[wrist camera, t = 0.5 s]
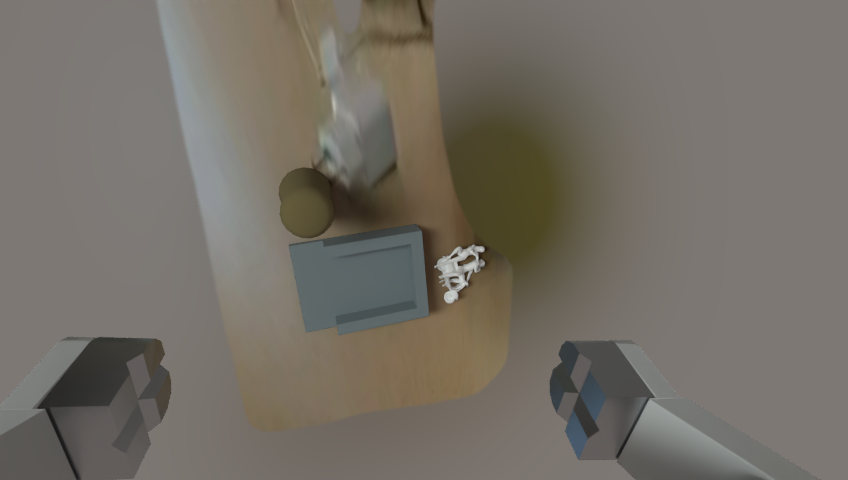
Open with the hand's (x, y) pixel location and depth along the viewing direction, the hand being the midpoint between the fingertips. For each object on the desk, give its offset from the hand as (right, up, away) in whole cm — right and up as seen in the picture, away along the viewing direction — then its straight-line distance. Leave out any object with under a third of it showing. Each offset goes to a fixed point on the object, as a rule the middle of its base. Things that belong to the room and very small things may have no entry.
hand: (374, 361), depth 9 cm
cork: (-13, +8, +42) cm, 45 cm away
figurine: (+6, -1, +51) cm, 52 cm away
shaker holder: (-7, -2, +47) cm, 48 cm away
